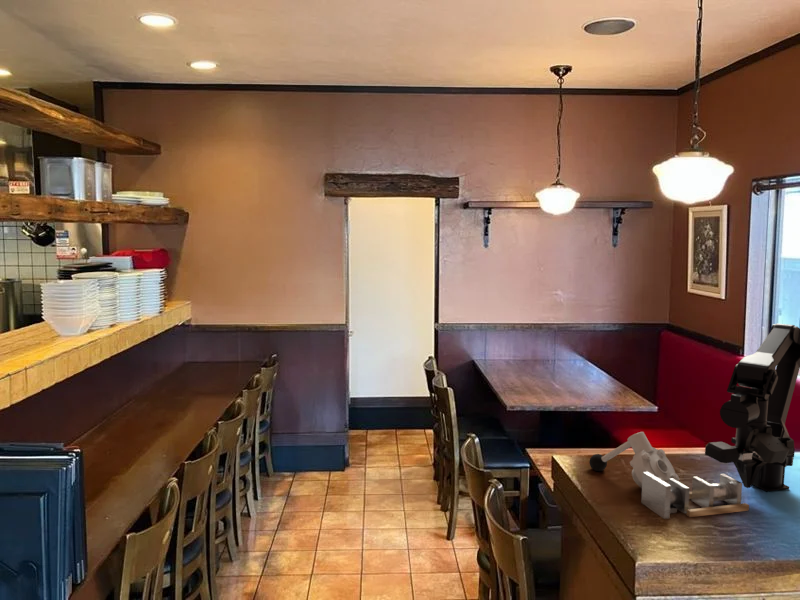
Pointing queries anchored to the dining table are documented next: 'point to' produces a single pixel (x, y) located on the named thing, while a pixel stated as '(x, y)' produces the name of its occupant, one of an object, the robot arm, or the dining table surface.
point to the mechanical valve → (639, 460)
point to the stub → (664, 495)
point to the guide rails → (716, 509)
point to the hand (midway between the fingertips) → (747, 487)
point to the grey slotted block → (716, 491)
